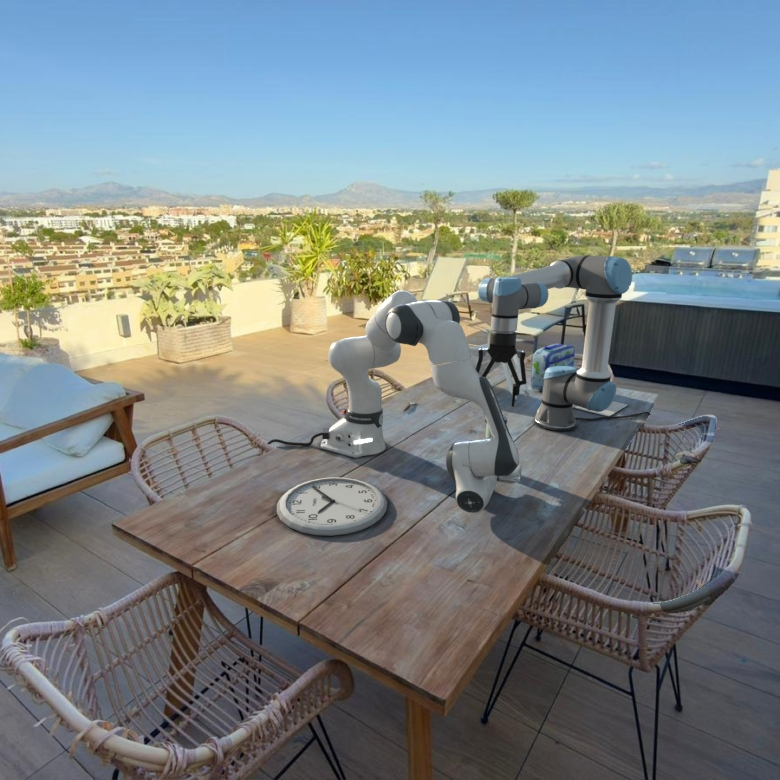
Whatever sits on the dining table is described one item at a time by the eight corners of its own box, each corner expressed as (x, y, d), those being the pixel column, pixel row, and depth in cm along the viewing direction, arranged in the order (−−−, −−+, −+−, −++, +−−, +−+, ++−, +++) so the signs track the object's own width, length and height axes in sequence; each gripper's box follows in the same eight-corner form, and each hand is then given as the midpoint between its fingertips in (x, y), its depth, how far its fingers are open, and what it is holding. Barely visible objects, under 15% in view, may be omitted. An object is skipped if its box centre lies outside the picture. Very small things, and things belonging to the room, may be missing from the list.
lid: (508, 426, 159) (509, 421, 158) (486, 426, 159) (487, 421, 158) (504, 418, 165) (505, 414, 164) (483, 418, 165) (484, 413, 165)
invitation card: (608, 416, 214) (573, 407, 224) (608, 416, 214) (573, 408, 224) (628, 404, 229) (594, 396, 238) (628, 405, 229) (594, 397, 238)
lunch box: (547, 395, 239) (552, 351, 233) (526, 390, 247) (530, 347, 240) (574, 384, 257) (579, 343, 251) (554, 380, 264) (558, 339, 258)
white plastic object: (461, 429, 252) (437, 405, 227) (444, 352, 274) (420, 323, 250) (535, 404, 240) (518, 377, 215) (510, 326, 262) (492, 293, 237)
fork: (400, 412, 215) (400, 407, 215) (412, 400, 229) (412, 396, 229) (406, 412, 214) (406, 408, 214) (418, 401, 229) (418, 397, 228)
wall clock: (392, 527, 129) (268, 531, 127) (391, 533, 130) (269, 537, 127) (383, 473, 158) (282, 475, 155) (383, 478, 158) (282, 480, 156)
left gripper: (520, 472, 143) (525, 453, 155) (447, 460, 150) (458, 442, 162) (518, 493, 145) (523, 472, 157) (446, 480, 152) (457, 461, 164)
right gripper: (539, 330, 155) (532, 403, 162) (467, 327, 159) (463, 397, 165) (541, 335, 148) (533, 411, 155) (466, 331, 152) (461, 405, 158)
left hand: (490, 457), depth 160 cm, fingers open, 8 cm apart
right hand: (497, 404), depth 160 cm, fingers open, 8 cm apart
